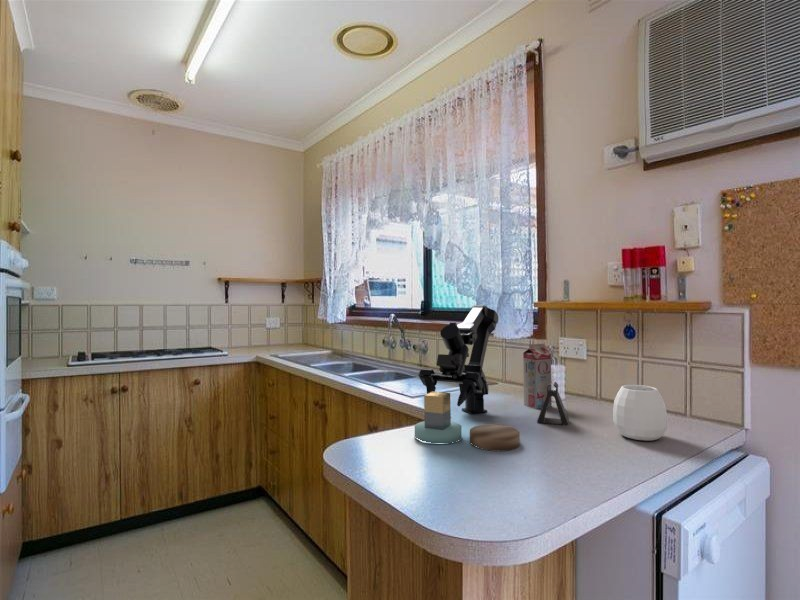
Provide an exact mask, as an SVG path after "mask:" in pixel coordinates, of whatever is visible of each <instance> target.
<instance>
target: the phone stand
mask: <svg viewBox="0 0 800 600" xmlns="http://www.w3.org/2000/svg"><path fill="white" fill-rule="evenodd" d="M552 383H553V387H554V388H555V389H552V388H551V389H550V387H549V386H551V387H552ZM550 397H551V398H553V397H554V401H555V405H556V408H557V411H558V415H559V418H554V417H546V414H547V409H548V408H549V407H548V403H549V399H550ZM536 423H537V424H542V425H543V424H544V425H553V426H554V425H555V426H564V425H565V426H566V427H568V426H569V423H570V419H569V416H568V414H567V411H566V408H565V406H564V403H563V400H562V398H561V396H560V393H559V384H558V382H556V381H554V382H553V381H552V380H551V382H550V383H549V384H548V387H547V396H546V399H545V402H544V404H543V407H542V408H541V410H540V412H539V415H538V418H537V420H536Z"/></svg>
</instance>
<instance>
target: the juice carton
mask: <svg viewBox="0 0 800 600" xmlns="http://www.w3.org/2000/svg"><path fill="white" fill-rule="evenodd" d="M545 344H546V343H543V342H542V343H530V344H528V349H526V350H525V351H524V352H523V353H522V354H523V358H522V360H523V365H522V366H523V406H526V405H527V407H529V408H533V409H534V410H535V409H536V410H537V409H538V410H539V409H542V407H543V404H544V402H545V399H546V396H547V387H548V384H549V383H550V382H551V381H552V353H551V352H550V351H549V350H548V349H547V348H546V345H545ZM549 387H550V389H551V390H552V385H551V386H549ZM552 405H553V404H552V396H551V397H550V399H549V403H548V407H547V408H552V407H553V406H552Z"/></svg>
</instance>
